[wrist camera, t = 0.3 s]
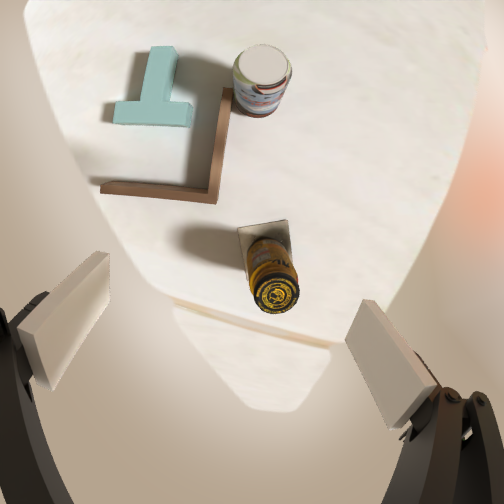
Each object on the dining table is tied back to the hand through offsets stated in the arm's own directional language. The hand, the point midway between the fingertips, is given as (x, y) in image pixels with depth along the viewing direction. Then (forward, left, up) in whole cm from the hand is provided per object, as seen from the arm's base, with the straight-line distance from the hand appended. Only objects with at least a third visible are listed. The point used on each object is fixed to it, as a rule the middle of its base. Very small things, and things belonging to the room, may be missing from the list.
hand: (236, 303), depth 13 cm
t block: (-15, -13, -27) cm, 33 cm away
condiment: (+7, +6, -27) cm, 29 cm away
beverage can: (-16, +1, -27) cm, 31 cm away
